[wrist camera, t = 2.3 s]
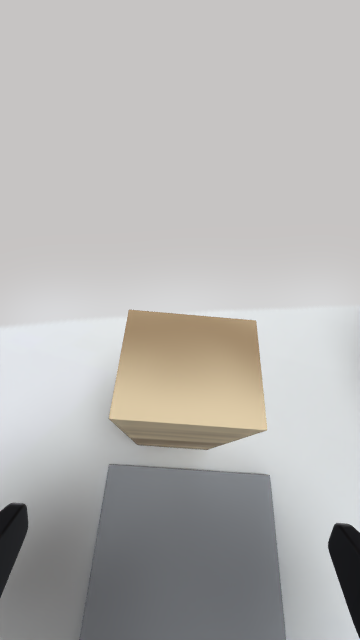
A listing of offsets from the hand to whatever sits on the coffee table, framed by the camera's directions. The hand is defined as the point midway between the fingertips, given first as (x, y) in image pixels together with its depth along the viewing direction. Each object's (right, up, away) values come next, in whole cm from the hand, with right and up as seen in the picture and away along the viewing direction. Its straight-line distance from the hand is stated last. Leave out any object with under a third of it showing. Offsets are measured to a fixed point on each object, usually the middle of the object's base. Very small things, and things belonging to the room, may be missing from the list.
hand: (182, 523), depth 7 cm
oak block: (0, -2, +12) cm, 12 cm away
